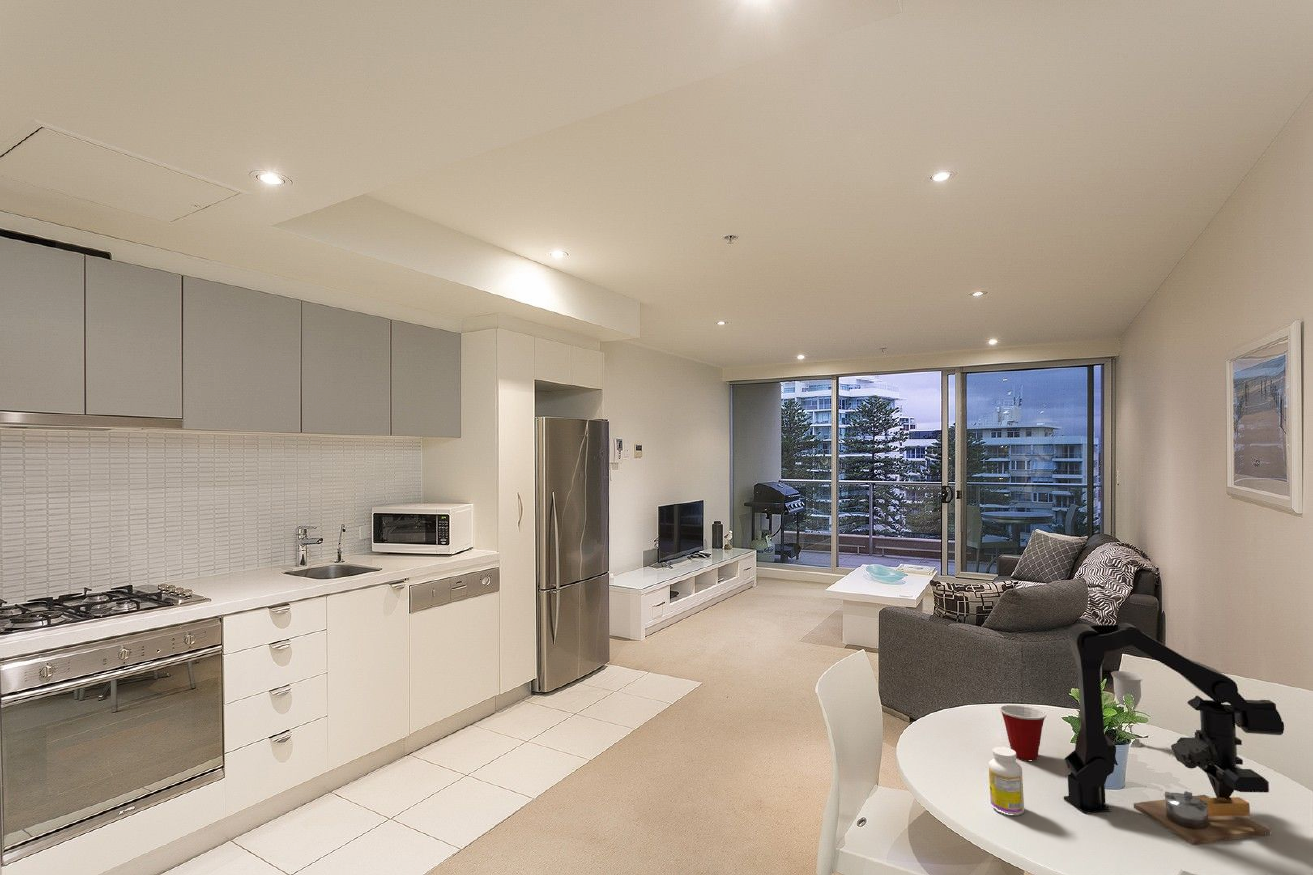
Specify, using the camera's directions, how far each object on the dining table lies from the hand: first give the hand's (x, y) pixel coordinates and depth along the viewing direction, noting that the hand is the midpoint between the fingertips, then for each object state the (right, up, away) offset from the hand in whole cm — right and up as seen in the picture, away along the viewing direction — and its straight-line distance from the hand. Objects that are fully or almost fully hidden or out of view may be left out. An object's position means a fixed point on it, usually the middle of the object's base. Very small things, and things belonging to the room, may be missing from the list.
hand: (1222, 803), depth 140 cm
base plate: (-5, -3, -1) cm, 6 cm away
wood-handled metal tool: (-5, -2, -2) cm, 6 cm away
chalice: (+7, -4, +36) cm, 37 cm away
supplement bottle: (-43, -5, +6) cm, 43 cm away
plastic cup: (-25, -5, +31) cm, 40 cm away
